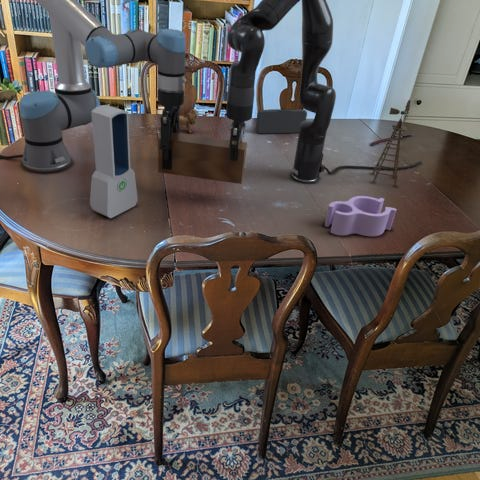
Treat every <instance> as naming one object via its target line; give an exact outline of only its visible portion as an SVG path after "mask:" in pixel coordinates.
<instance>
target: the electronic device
mask: <svg viewBox="0 0 480 480" xmlns="http://www.w3.org/2000/svg"><path fill="white" fill-rule="evenodd" d="M91 115H92V122H91V125H92V126H91V128H92V136H93V139H92V140H93V149H94V162H95V170H94V172H93V173H92V175H91V184H90V194H89V196H90V197H89V205H90V207H91V210H93V211H94V212H96V213H98V214H100V215H102V216H105V217H106V218H108V219H113V218H114V217H117V216H119V215H120V214H122V213H124V212H126V211H128V210H130V209H132V208H134V207H135V206H136V205H137V203H138V201H139V199H138V189H137V181H136V172H135V170H134V169H132V168H131V149H130V146H131V145H130V122H129V121H130V119H129V111H126V110H124V109H120V108H118V107H114V106H111V105H107V104H102V105H101V104H100V106H98V107H96V108H95V109H93V110H92V111H91Z"/></svg>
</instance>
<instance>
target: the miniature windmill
mask: <svg viewBox="0 0 480 480" xmlns="http://www.w3.org/2000/svg"><path fill="white" fill-rule="evenodd" d="M410 107H411V100H410V99H408V100H407V103H406V105H405V107H404V108H405V109H404V110H401V111H400V110H399V109H397V108H395V107H394V108H393V107H390V110H389V114H388V115H399V114H400V115H401V117H400V118H399V120H398V122H397V124H392V125H391V127H392V130H393V131H391V135H390V137H389V138H390V139H389V140H387V142H386V143H385V146H384V147H385V148H384V149H383V151H382V153H381V154H380V157H379V159H378V160H377V163H376V164H375V165H374V167H375V169H373V171H372V174H371V175H374V174H375V176H374V178H373V180H372V183H375V182H376V180H377V178H378V175H382V176H389V177H392V178H394V183H393V186H395V187H397V178H398V176H399V175H398V170H399V169H398V167H399V162H400V160H399V157H400V150H401V139H402V138H401V135H402V131H403V132H404V131H406V132H407V131H408V128H407V126H405V124H406V121H407V118H408V115H409V111H410ZM394 137H398V138H397V143H393V142H394V140H395V139H394ZM391 138H392V139H391ZM392 145H393V146H396V147H391V146H392ZM390 149H391V150H396V151H395V154H392V153H388V152H389V150H390ZM387 156H390V157H394V159H387ZM385 161H387V162H392V163H394V165H393V166H386V165H383V164H384V162H385ZM377 167H379V169H377ZM381 167H385V168H391V170H393V172H392V174H389V173H382V172H380V171H381V170H382V169H381ZM393 167H394V168H393Z"/></svg>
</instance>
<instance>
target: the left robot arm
mask: <svg viewBox="0 0 480 480" xmlns="http://www.w3.org/2000/svg"><path fill="white" fill-rule="evenodd" d="M35 2H36V3H37V4H38V5H39V6H41V8H43V9H44V11H46V12H47V13H48V16H49V23H50V29H51V36H52V44H53V51H54V59H55V65H56V73H57V79H58V80H57V82H56V83H55V85H54V91H51V90H41V91H39V90H37V91H31V92H29V93H26V94H24V95H23V96H22V97H21V98H20V100H19V103H18V104H19V116H20V119H21V125H22V132H23V136H24V148H23V153H22V154H15V155H14V154H13V155H2V154H0V159H4V160H12V159H22V160H21V161H22V166H23V168H24V169H25V170H27V171H29V172H33V173H39V174H46V173H56V172H61V171H63V170H66V169H67V168H69V167H70V166H71V163H72V159H71V155H70V153H69V151H68V150H67V149H68V148H67V147H66V145H65V143H64V140H63V131H66V130H70V129H73V128H77V127H80V126H86V125H88V124H90V123H91V124H92V115H91V111H92V110H93V109H95V108H96V107H98V106H101V102H100V98H99V96H98V94H97V92H96V91H95V90H94V89H92V86H91V83H89V82H88V81H87V80H86V71H85V64H84V55H83V47H84V53H85V56H86V58H87V59H88V62H89V64H90V65H91V66H92V67H94V68H97V69H103V68H105V69H108V68H109V69H110V68H113V67H118V66H122V65H123V66H124V65H129V64H134V63H139V62H147V63H151V64H155V65H157V84H156V85H157V88H158V89H157V102H158V104H159V105H162V106H163V109H162V111H161V113H162V114H161V116H160V117H159V119H160V135H161V140H160V147H159V149H161V150H162V169H168V170H171V169H172V149H171V141H172V132H173V133H180V124H179V116H180V111H181V106H183V105H184V103H185V83H187V81H188V80H187V78H185V75H186V73H185V72H186V70H185V69H186V53H187V42H186V41H187V40H186V39H187V38H186V37H187V36H186V34H185V33H184V32H183V31H182V30H179V29H174V28H162V29H159V30H158V31H157V34H156V33H153V32H148V31H146V30H143V29H134V28H131V29H128V30H127V31H126V32H125V33H118V34H114V33H113V32H111V30H110V29H108V28H107V27H106V26H105V25H104V24H102V22H100V20H98V18H96V17H95V16H94V15H93V14H92V13H91V12H90V11H88V10H87V9H86V8H85V6H83V5H82V4H81V3H80V2H79V0H35Z"/></svg>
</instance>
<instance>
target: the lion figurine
mask: <svg viewBox="0 0 480 480" xmlns="http://www.w3.org/2000/svg"><path fill="white" fill-rule="evenodd" d="M199 117H200V114H199V110H197V109H195V108H193V109H190V111H189V112H188V113H186V114H185V115H179V126H185V130H186V131H188V133H192V130H191V128H192V125H193V126H194V125H195V124H196V122H198V119H199Z"/></svg>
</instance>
